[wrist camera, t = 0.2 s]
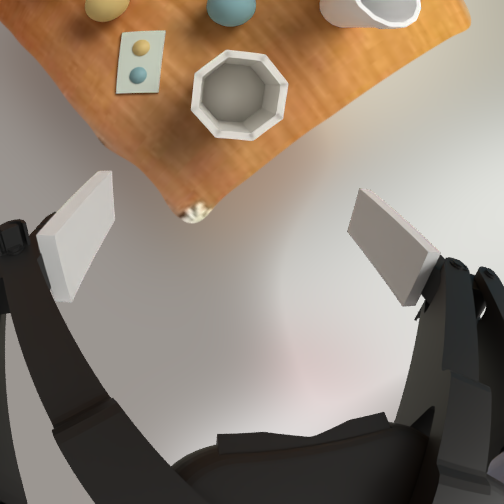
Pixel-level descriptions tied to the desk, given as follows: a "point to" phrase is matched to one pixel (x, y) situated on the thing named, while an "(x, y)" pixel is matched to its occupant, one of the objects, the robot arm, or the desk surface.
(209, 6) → the ball teal
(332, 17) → the foam cup
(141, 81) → the card
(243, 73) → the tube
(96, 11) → the ball ochre
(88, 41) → the desk surface
